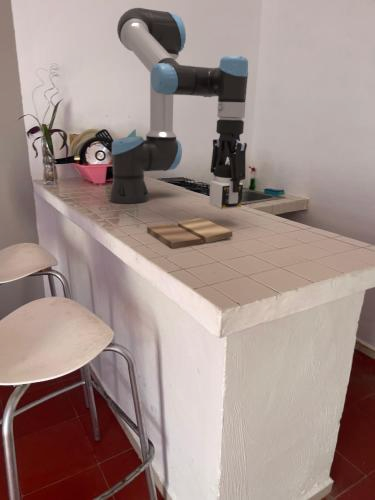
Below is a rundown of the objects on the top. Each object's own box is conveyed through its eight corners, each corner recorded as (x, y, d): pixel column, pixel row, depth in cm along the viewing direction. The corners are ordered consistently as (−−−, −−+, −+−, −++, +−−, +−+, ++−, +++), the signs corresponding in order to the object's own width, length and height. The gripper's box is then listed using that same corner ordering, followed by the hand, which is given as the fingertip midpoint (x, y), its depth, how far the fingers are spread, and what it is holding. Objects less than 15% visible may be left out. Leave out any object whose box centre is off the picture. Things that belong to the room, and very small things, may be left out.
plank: (177, 227, 108) (177, 222, 107) (201, 222, 111) (201, 217, 111) (206, 243, 95) (206, 237, 94) (232, 236, 98) (232, 231, 97)
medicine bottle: (221, 209, 107) (223, 167, 103) (208, 204, 113) (210, 163, 109) (241, 207, 110) (244, 166, 106) (228, 202, 116) (231, 163, 112)
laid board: (147, 232, 104) (147, 226, 103) (176, 228, 108) (176, 223, 107) (172, 248, 90) (172, 242, 90) (204, 243, 94) (204, 238, 94)
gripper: (200, 117, 110) (197, 194, 118) (240, 120, 93) (234, 209, 101) (222, 118, 113) (217, 192, 121) (264, 120, 97) (256, 206, 105)
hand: (225, 200), depth 111 cm, fingers closed on medicine bottle, 7 cm apart
